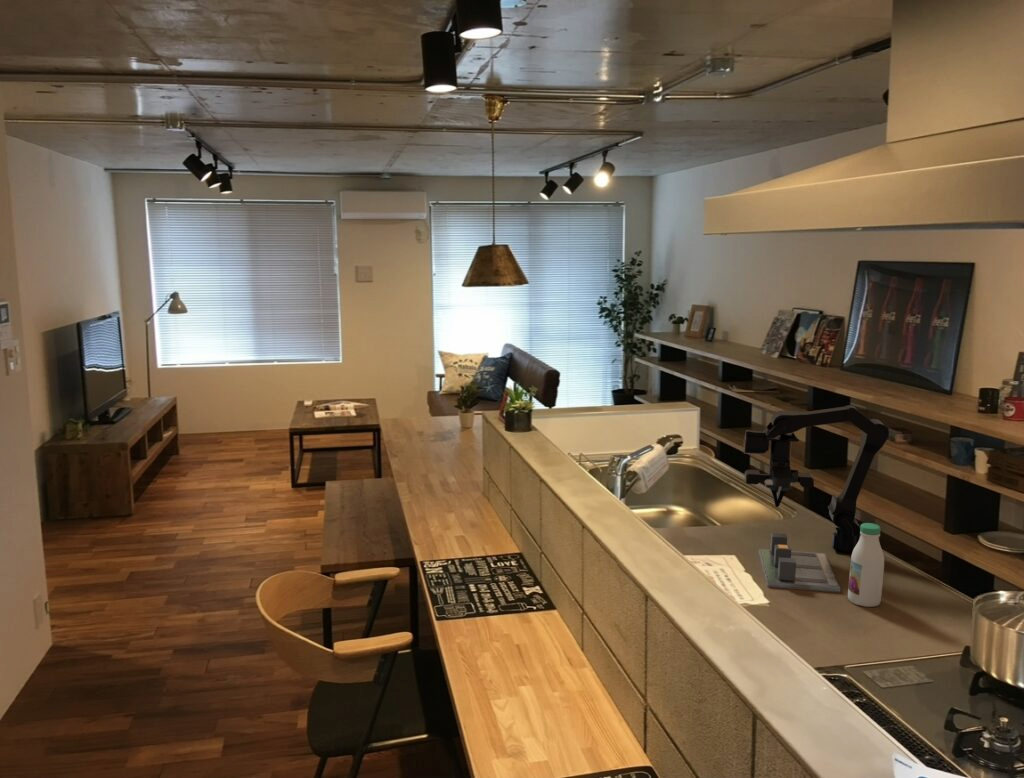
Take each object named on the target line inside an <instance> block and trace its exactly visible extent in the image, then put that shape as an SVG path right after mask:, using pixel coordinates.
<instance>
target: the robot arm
mask: <svg viewBox="0 0 1024 778" xmlns="http://www.w3.org/2000/svg"><path fill="white" fill-rule="evenodd" d="M846 422H850V423H851V424H852V425H854V426H855V427H857V428H858V429H859V430H861V432H860V437H859V439H860V440H859V449H858V451H857V454H856V455H855V459H854V461H853V464H852V465H851V466H852V467H851V468H850V471H849V473H848V476H847V479H846V481H845V484H844V487H843V489H842V491H841V493H839V495H837V496H836V495H832V496H831V502H830V503H829V505H828V506H827V508H828V510H829V511H828V513H829V517H830V518H831V520H832V522H833V524H834V525H835V527H834V532H833V533H832V537H831V539H832V540H831V547H832V549H833V550H834V552H835V553H836V554H840V555H841V554H842V555H852V552H853V550H854V548H855V546H856V545H857V543H858V541H859V539H860V536H861V533H860V527H861V525H860V524H859V523H858V521H857V519H856V514H857V501H858V497H859V494H860V493H861V490H862V488H863V485H864V482H865V480H866V478H867V475H868V473H869V470H870V468H871V465H872V464H873V461H874V459H875V456H876V455H877V453H878V452H879V451H880V450H881V449H882V448H883V447H884V445H885V444H886V442H887V440H888V439H889V436H890V430H889V429H888V426H886V425H885V424H884V423H883V422H882V421H881V420H879V419H876V418H872V419H871V418H870V417H869V416H867V415H866V414H864V413H863V412H861V411H860V410H859V409H857V408H856V407H855V406H853V405H852V404H851V405H849V404H848V405H845V406H839V407H833V408H825V409H817V410H812V411H811V410H810V411H795V410H777V411H775V412H774V413H773V414H772V416H771V417H770V422H768V424H767V425H766V426H765V427H764V429H763V430H762V431H761V430H752V429H746V430H745V434H744V438H743V447H742V448H743V454H747V455H748V454H749V455H765V454H766V453H767V452H769V462H768V463H769V464H768V474H767V473H760V470H758V469H746V470H745V471H744V481H745V484H747V485H758V484H759V483H761V481H762V482H764V485H765V487H766V488H768V489H770V492H771V495H772V498H773V502H774V507H775V508H779V507H780V505H781V502H782V500H783V499H784V496H785V494H786V492H787V491H788V490H792V489H793V485H792V484H795V483H797V484H798V483H799V485H800V486H801V487H802V488H810V489H811V488H814V487H815V479H814V477H813V475H812V474H811V473H810V472H799V470H798V469H791V455H792V442H794V443H795V442H796V443H797V442H800V439H799V437H798V436H797V435H796V434H795V433H796V432H798V431H800V430H802V429H804V428H808V427H817V426H823V425H830V424H838V423H846ZM769 443H770V444H769ZM769 446H770V447H769ZM769 448H770V449H769ZM777 488H778V489H777Z"/></svg>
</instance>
